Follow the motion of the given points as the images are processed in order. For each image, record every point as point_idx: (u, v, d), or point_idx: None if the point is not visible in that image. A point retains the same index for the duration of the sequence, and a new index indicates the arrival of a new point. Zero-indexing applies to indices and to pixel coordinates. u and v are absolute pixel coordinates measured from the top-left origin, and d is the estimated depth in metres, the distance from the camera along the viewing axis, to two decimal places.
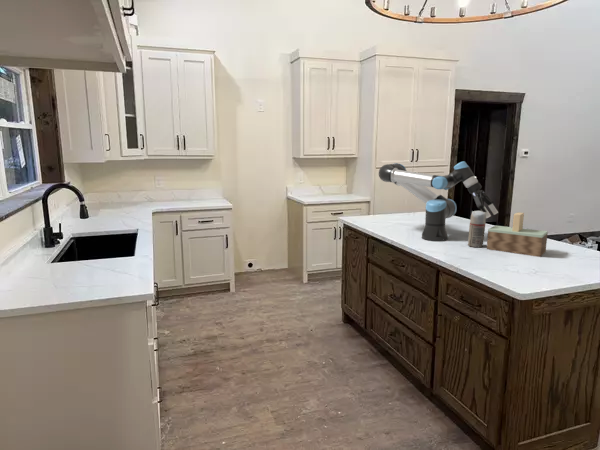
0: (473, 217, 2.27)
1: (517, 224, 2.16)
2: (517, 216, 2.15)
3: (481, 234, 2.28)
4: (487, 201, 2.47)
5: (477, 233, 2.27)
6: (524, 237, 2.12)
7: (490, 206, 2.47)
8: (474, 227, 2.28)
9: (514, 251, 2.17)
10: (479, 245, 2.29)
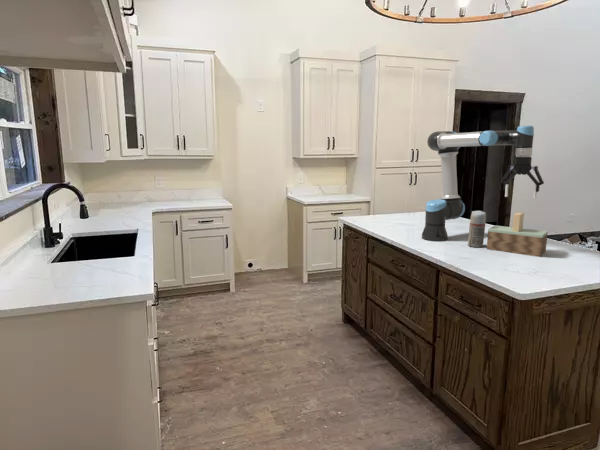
0: (473, 217, 2.27)
1: (517, 224, 2.16)
2: (517, 216, 2.15)
3: (481, 234, 2.28)
4: None
5: (477, 233, 2.27)
6: (524, 237, 2.12)
7: None
8: (474, 227, 2.28)
9: (514, 251, 2.17)
10: (479, 245, 2.29)
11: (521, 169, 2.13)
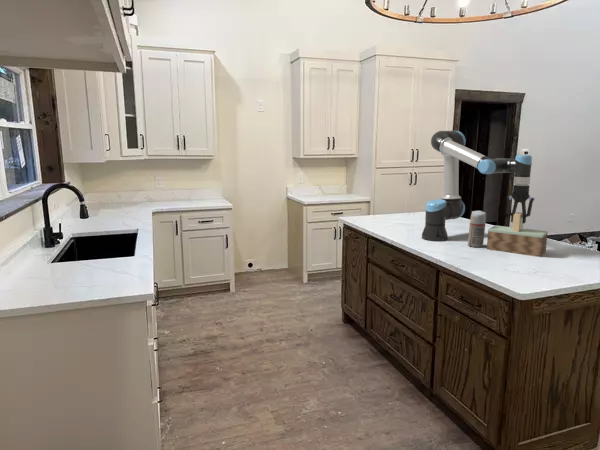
0: (473, 217, 2.27)
1: (517, 224, 2.16)
2: (517, 216, 2.15)
3: (481, 234, 2.28)
4: None
5: (477, 233, 2.27)
6: (524, 237, 2.12)
7: None
8: (474, 227, 2.28)
9: (514, 251, 2.17)
10: (479, 245, 2.29)
11: (519, 196, 2.16)
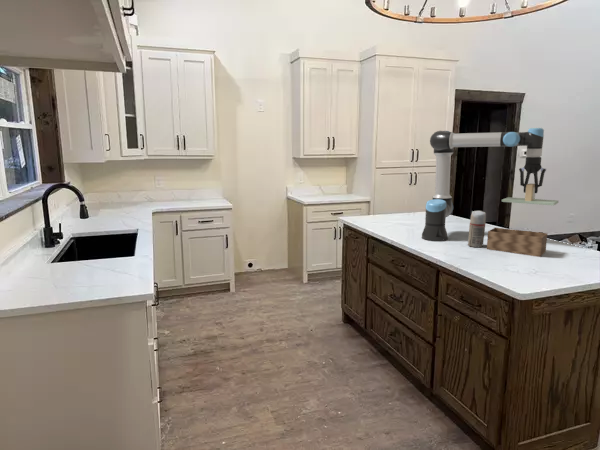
0: (473, 217, 2.27)
1: (529, 194, 2.28)
2: (530, 186, 2.28)
3: (481, 234, 2.28)
4: None
5: (477, 233, 2.27)
6: (524, 237, 2.12)
7: None
8: (474, 227, 2.28)
9: (514, 251, 2.17)
10: (479, 245, 2.29)
11: (531, 167, 2.28)
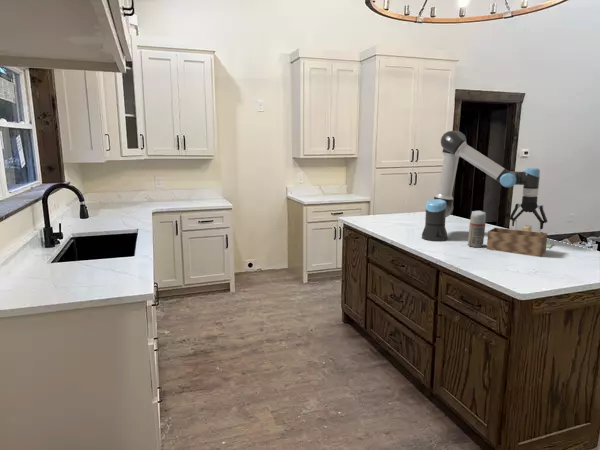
0: (473, 217, 2.27)
1: None
2: (525, 229, 2.33)
3: (481, 234, 2.28)
4: None
5: (477, 233, 2.27)
6: (524, 237, 2.12)
7: None
8: (474, 227, 2.28)
9: (514, 251, 2.17)
10: (479, 245, 2.29)
11: (528, 207, 2.33)
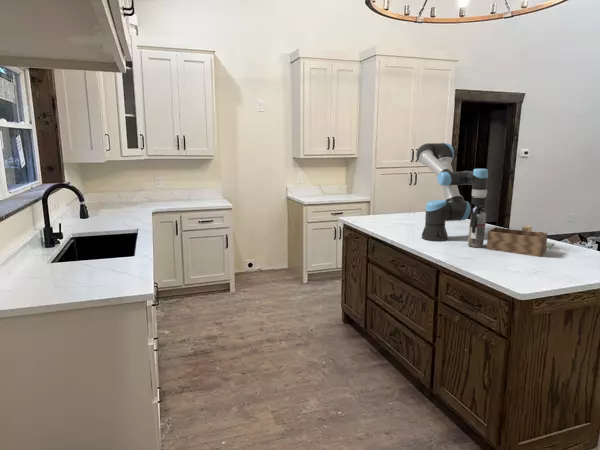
0: None
1: None
2: (525, 229, 2.33)
3: (481, 234, 2.28)
4: None
5: (477, 233, 2.27)
6: (524, 237, 2.12)
7: None
8: None
9: (514, 251, 2.17)
10: (479, 245, 2.29)
11: None
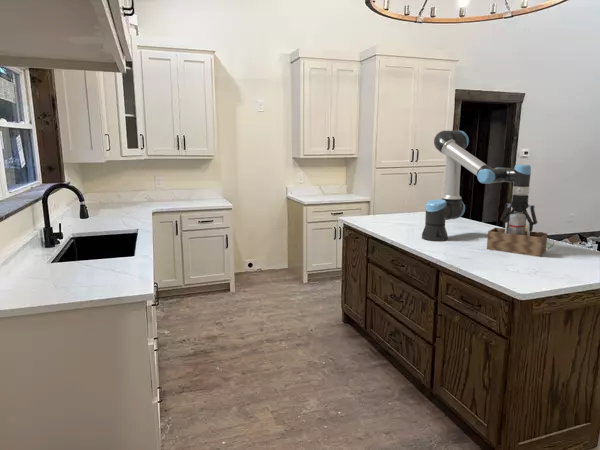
0: None
1: None
2: (525, 229, 2.33)
3: None
4: None
5: (508, 233, 2.21)
6: (524, 237, 2.12)
7: None
8: None
9: (514, 251, 2.17)
10: None
11: (518, 206, 2.17)
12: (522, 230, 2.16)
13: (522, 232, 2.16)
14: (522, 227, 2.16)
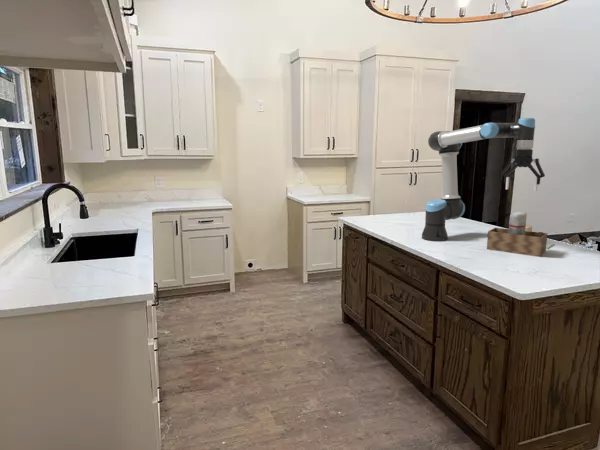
0: None
1: None
2: (525, 229, 2.33)
3: None
4: None
5: (508, 233, 2.21)
6: (524, 237, 2.12)
7: None
8: None
9: (514, 251, 2.17)
10: None
11: (522, 162, 2.12)
12: (522, 230, 2.16)
13: (522, 232, 2.16)
14: (522, 227, 2.16)
